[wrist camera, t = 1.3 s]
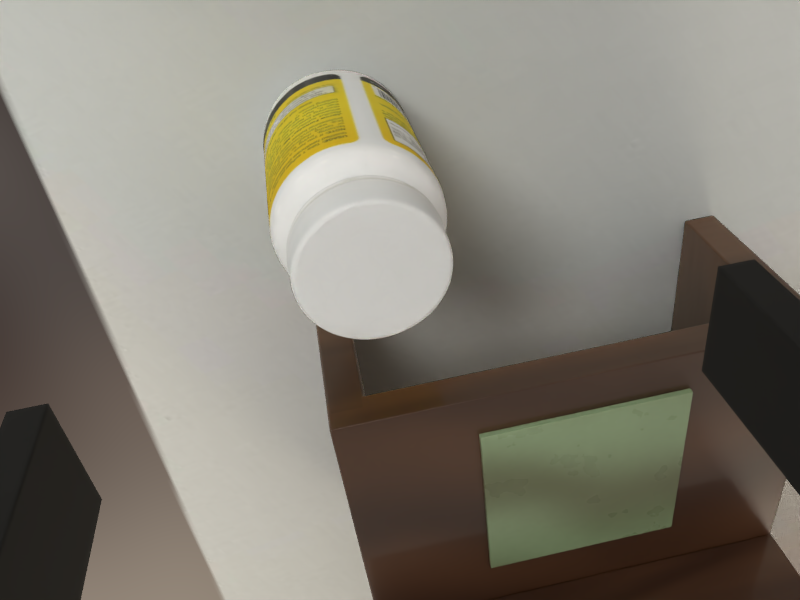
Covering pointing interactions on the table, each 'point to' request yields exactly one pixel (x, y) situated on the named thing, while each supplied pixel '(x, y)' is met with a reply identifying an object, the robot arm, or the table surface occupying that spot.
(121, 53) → the table surface
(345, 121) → the supplement bottle
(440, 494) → the shelf
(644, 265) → the table surface
